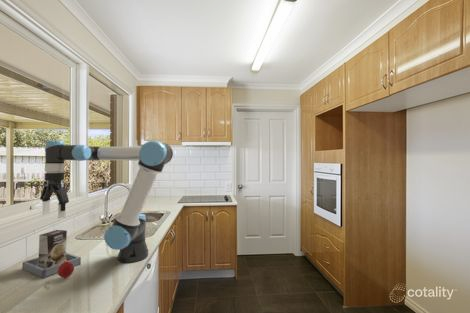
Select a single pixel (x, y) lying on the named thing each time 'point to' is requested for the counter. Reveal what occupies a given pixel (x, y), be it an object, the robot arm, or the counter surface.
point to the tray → (33, 267)
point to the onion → (65, 269)
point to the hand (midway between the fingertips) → (53, 216)
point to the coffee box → (52, 248)
